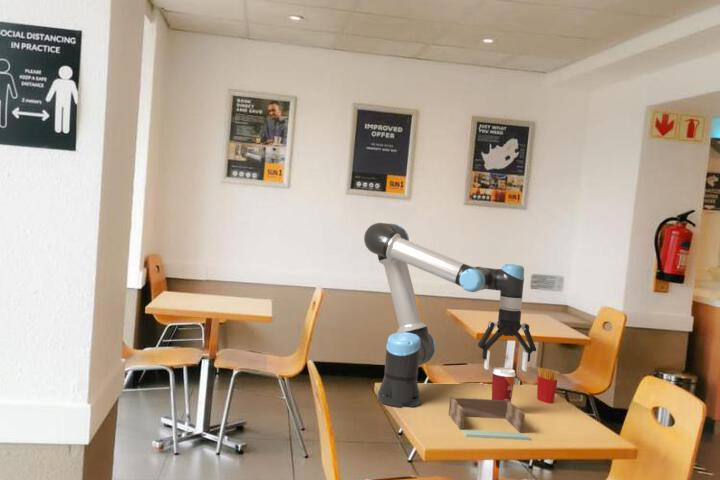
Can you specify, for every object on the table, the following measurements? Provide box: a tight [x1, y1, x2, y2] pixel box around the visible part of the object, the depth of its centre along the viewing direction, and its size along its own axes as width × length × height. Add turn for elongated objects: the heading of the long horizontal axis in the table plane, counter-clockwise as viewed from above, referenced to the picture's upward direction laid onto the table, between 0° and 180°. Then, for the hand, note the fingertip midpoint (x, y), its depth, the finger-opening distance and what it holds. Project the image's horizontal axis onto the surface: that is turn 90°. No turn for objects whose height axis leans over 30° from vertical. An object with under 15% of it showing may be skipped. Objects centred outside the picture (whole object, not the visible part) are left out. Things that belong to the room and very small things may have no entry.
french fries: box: [536, 367, 558, 404], centre depth 233 cm, size 8×4×12 cm, turn 32°
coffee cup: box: [491, 366, 517, 403], centre depth 213 cm, size 8×8×15 cm
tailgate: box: [460, 429, 531, 441], centre depth 185 cm, size 1×20×6 cm
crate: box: [448, 396, 525, 434], centre depth 195 cm, size 14×20×7 cm
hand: (505, 369), depth 213 cm, fingers open, 13 cm apart
